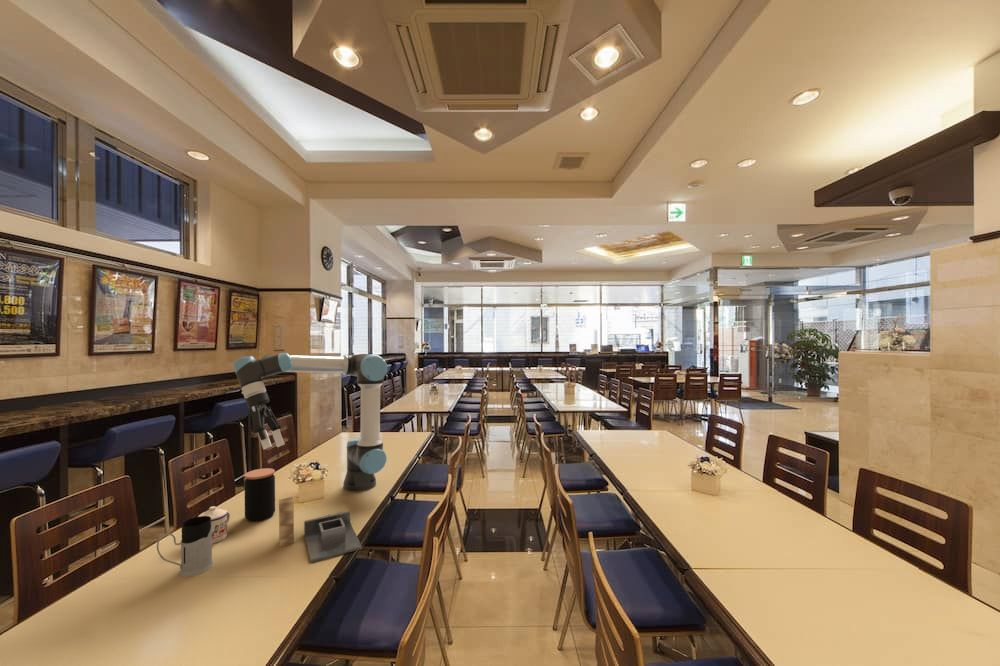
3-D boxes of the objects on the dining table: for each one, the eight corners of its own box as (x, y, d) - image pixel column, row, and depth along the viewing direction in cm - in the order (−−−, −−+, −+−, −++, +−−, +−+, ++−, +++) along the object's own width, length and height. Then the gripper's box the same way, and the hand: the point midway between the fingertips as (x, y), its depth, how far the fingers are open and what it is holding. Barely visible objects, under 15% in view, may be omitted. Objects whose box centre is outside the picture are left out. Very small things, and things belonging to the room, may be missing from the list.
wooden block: (293, 538, 147) (292, 496, 147) (293, 543, 144) (293, 501, 144) (279, 541, 145) (278, 499, 145) (279, 546, 141) (279, 503, 141)
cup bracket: (349, 523, 158) (349, 508, 158) (361, 549, 139) (361, 531, 139) (304, 534, 150) (304, 518, 150) (310, 562, 131) (310, 544, 131)
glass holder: (217, 567, 129) (217, 520, 129) (160, 589, 118) (160, 537, 118) (208, 557, 135) (208, 512, 135) (153, 577, 124) (153, 528, 124)
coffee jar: (280, 511, 170) (280, 468, 170) (263, 523, 159) (263, 477, 159) (257, 510, 171) (256, 467, 171) (238, 522, 160) (238, 476, 160)
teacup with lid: (213, 546, 142) (213, 513, 142) (190, 545, 143) (190, 512, 143) (239, 529, 154) (239, 499, 154) (218, 528, 155) (217, 498, 155)
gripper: (259, 401, 168) (276, 449, 165) (230, 397, 144) (250, 453, 141) (277, 393, 170) (295, 441, 167) (252, 388, 146) (272, 444, 143)
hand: (274, 446), depth 154 cm, fingers open, 13 cm apart
